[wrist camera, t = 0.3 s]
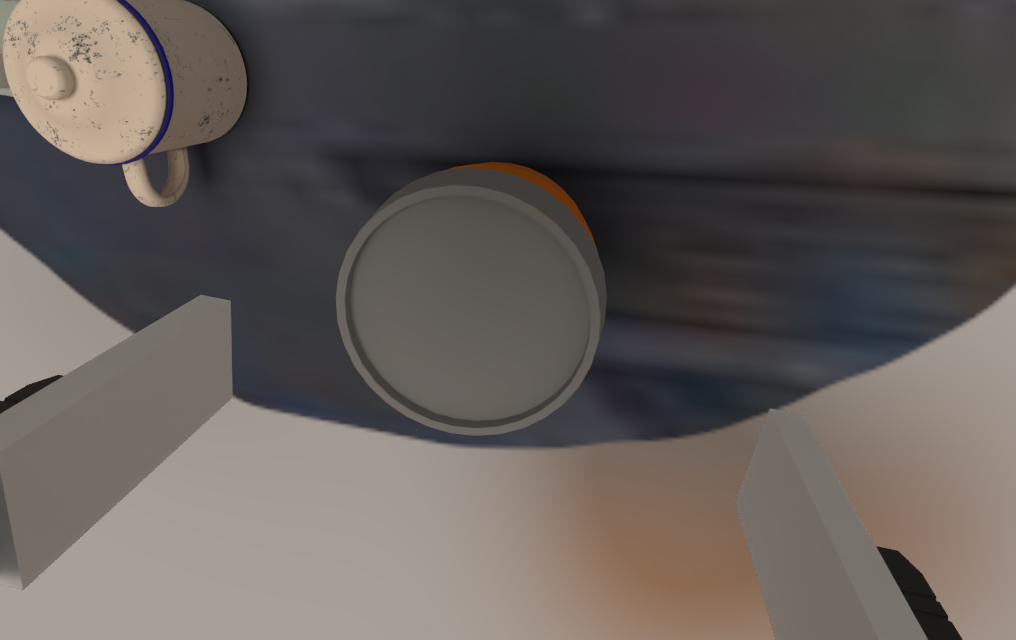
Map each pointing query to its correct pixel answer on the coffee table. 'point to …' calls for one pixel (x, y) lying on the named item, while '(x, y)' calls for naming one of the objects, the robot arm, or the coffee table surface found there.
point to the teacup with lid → (125, 82)
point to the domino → (3, 72)
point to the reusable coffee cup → (474, 299)
